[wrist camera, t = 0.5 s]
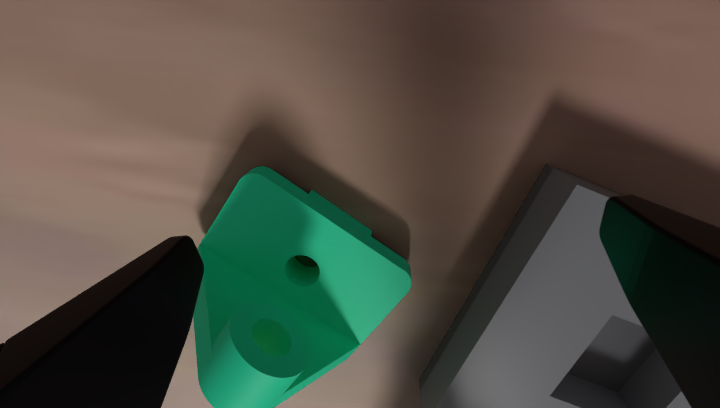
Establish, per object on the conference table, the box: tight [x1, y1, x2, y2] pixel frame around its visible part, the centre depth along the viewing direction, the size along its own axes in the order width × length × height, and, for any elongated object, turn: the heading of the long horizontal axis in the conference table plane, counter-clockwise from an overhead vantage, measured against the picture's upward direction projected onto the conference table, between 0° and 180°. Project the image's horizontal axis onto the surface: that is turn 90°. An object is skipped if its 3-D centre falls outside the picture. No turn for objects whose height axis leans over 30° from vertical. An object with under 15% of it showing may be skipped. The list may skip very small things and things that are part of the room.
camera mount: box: [193, 166, 411, 408], centre depth 21 cm, size 12×8×10 cm, turn 55°
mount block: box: [419, 164, 691, 408], centre depth 25 cm, size 18×18×4 cm
